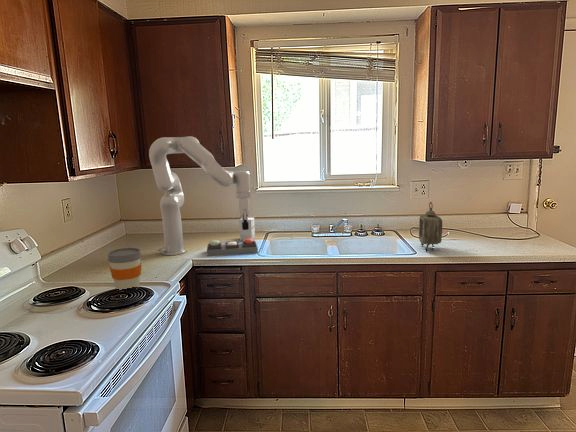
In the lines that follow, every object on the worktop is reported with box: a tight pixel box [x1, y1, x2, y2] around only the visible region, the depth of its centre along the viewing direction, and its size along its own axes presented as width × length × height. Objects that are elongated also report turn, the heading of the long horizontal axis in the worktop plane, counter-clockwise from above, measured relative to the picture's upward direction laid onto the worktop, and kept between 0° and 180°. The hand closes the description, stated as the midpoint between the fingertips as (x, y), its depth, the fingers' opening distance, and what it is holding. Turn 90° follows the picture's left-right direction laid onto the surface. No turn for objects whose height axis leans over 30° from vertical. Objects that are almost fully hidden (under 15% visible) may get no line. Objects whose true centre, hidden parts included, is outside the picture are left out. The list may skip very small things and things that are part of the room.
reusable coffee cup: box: [107, 247, 142, 290], centre depth 165 cm, size 13×13×15 cm
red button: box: [244, 238, 255, 244], centre depth 215 cm, size 5×5×2 cm
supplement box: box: [238, 217, 256, 241], centre depth 239 cm, size 7×7×13 cm
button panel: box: [206, 240, 259, 257], centre depth 214 cm, size 26×10×4 cm, turn 99°
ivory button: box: [227, 241, 238, 245], centre depth 214 cm, size 5×5×2 cm
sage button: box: [209, 239, 220, 246], centre depth 212 cm, size 5×5×2 cm
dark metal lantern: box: [418, 201, 443, 251], centre depth 211 cm, size 14×9×25 cm, turn 171°
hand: (245, 229), depth 213 cm, fingers closed
